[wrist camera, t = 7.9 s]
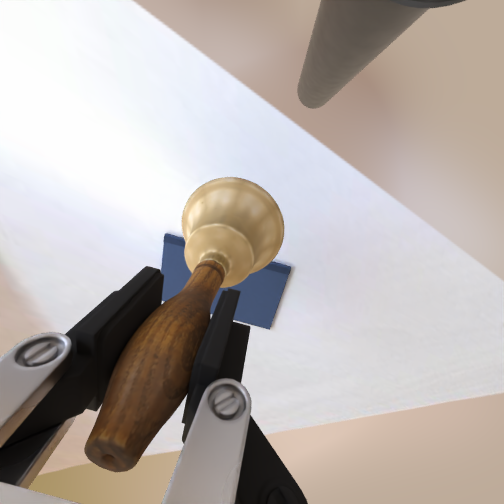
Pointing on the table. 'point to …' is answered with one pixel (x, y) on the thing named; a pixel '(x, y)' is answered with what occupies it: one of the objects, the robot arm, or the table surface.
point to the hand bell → (184, 317)
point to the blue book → (252, 288)
